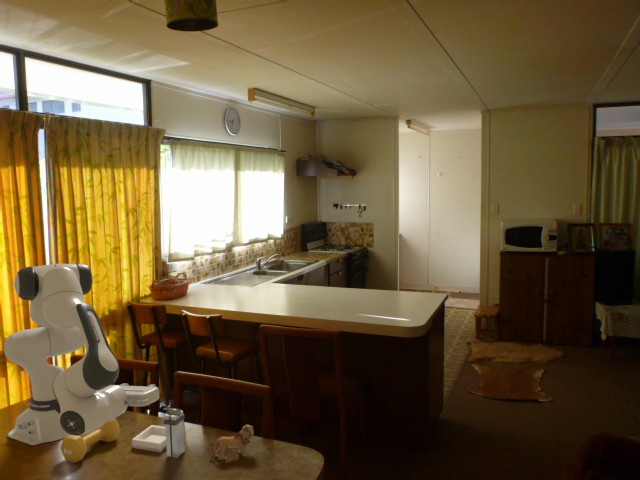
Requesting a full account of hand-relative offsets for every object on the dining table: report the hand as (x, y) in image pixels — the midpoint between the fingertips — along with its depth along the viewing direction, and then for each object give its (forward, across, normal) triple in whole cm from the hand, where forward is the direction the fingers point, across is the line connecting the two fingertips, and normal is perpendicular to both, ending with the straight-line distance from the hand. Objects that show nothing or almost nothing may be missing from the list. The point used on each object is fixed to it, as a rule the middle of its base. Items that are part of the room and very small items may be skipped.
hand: (140, 386), depth 162 cm
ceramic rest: (+16, +7, +25) cm, 31 cm away
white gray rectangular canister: (+11, -4, +26) cm, 28 cm away
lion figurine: (+15, -23, +27) cm, 38 cm away
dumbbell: (+7, +25, +25) cm, 36 cm away
